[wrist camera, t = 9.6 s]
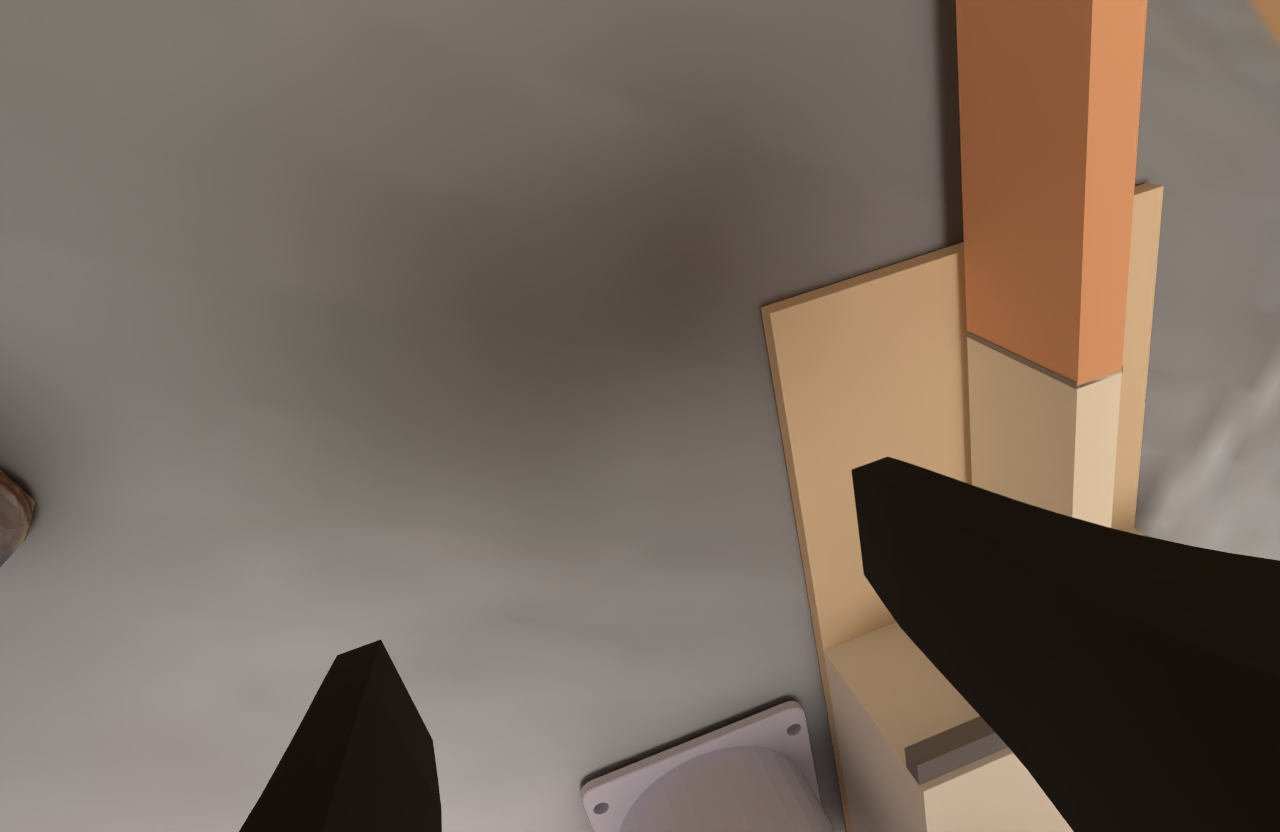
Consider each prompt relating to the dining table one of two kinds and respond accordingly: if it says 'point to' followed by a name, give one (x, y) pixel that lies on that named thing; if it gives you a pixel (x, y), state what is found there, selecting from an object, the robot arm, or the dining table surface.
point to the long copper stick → (1048, 240)
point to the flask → (13, 516)
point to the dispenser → (829, 537)
